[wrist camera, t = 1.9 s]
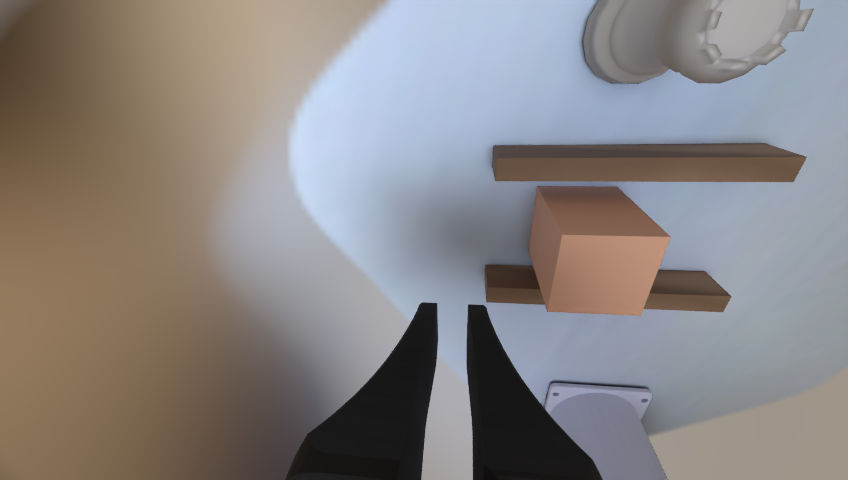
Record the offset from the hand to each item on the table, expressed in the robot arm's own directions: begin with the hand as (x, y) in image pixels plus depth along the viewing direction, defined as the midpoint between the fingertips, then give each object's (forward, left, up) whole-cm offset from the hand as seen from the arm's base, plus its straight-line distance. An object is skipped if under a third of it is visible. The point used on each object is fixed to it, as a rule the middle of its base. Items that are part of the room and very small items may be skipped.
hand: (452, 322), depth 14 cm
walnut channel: (0, -9, -9) cm, 13 cm away
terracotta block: (0, -7, -10) cm, 12 cm away
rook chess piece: (+10, -8, -10) cm, 16 cm away
